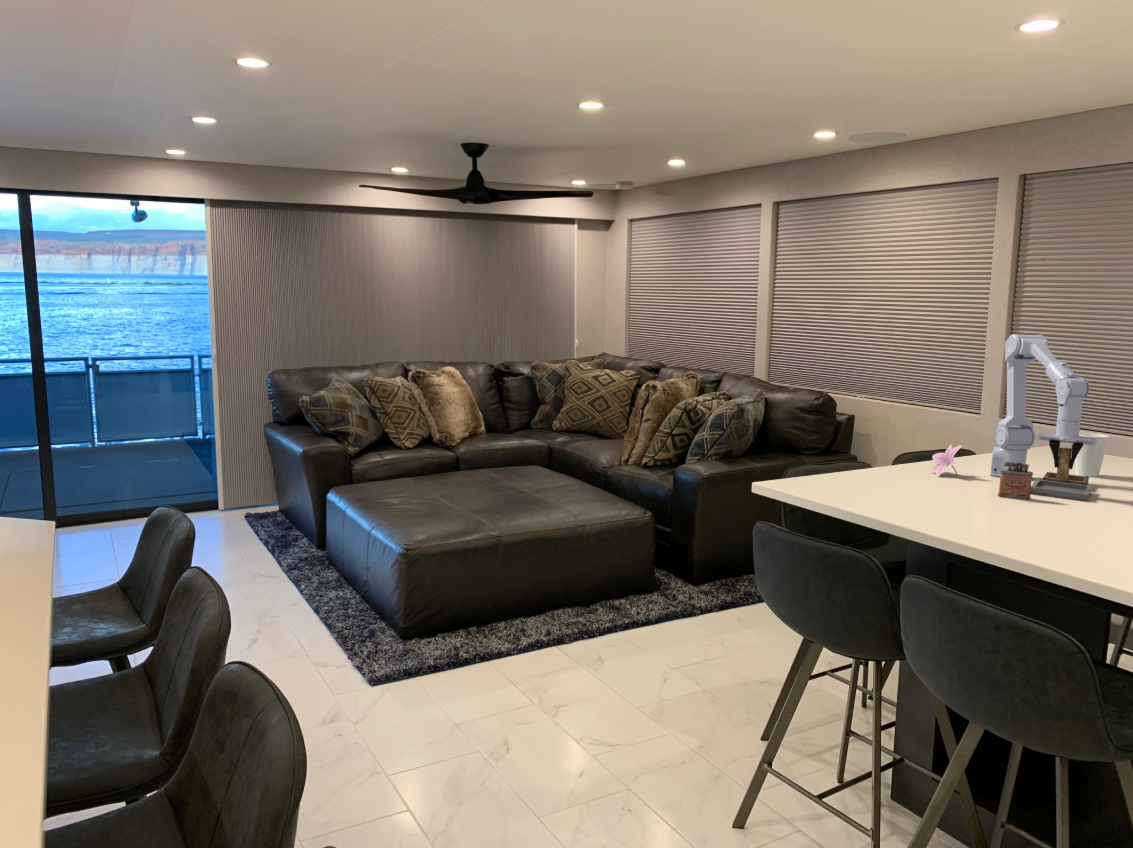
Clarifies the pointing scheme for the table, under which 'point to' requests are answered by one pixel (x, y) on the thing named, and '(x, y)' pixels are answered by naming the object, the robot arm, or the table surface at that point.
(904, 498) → the table surface
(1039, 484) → the tray
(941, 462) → the lily
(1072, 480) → the holder
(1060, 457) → the pin
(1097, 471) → the foam cup
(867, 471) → the table surface
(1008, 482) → the lighter
